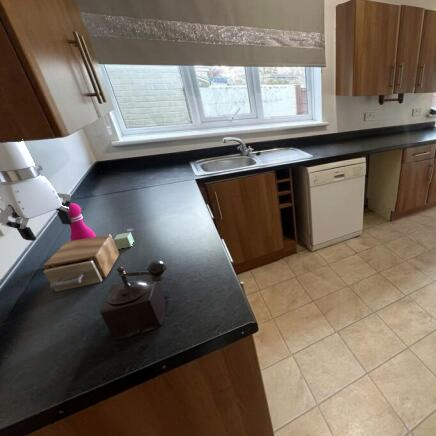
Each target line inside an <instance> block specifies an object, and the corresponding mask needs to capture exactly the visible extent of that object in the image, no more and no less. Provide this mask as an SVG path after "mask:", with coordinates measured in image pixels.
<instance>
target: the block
mask: <svg viewBox="0 0 436 436" xmlns="http://www.w3.org/2000/svg"><path fill="white" fill-rule="evenodd" d="M113 240H114V243H115V245H116V247H117V250H118V249H120V250H122V249H121V248H125V249H127V248H126V247H131V246H132V247H133V245H134V244H133V242H134V243H135V240H134V237H133V235H132V233H131V231H129V232H125V233H119V234H116V236H115V237H114V238H113ZM132 244H133V245H132ZM132 247H131V248H132Z"/></svg>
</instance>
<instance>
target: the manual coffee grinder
mask: <svg viewBox="0 0 436 436" xmlns="http://www.w3.org/2000/svg"><path fill="white" fill-rule="evenodd" d="M124 269H125V268H124V267H123V266H118V267H117V268H116V271H117V273H118V274H117V275H118V277H120V278H121V280H122V282H121V283H117V284H112V285H111V286H110V288H109V290H108V292H107V294H106V296H105V298H104V300H103V302H102V304H101V306H100V309H99V315H100V316H101V318H102V319H103V322H104V323H105V325H106V327H107V329H108V331H109V332H110V333H111V334H110V335H111V336H112V338H113V340H114V341H118V340H122V339H125V338H130V337H134V336H137V335H141V334H143V333H146V332H150V331H153V330H155V329H158V328H159V327H162V325H163V321H164V319H165V315H166V314H165V313H166V307H167V306H166V299H165V297H164V295H163V292H162V289H161V286H160V283H159V282H161V281H163V280H164V278H165V275H164V272H165V271H166V270H167V265H166V263H165V262H164V261H162V260H153V261H151V262H149V264H148V266H147V268H146V271H125V270H124ZM136 276H146V277H143V278H139V279H133V280H130V281H129V280H128V279H127V277H136Z"/></svg>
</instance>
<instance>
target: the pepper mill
mask: <svg viewBox="0 0 436 436" xmlns="http://www.w3.org/2000/svg"><path fill="white" fill-rule="evenodd" d="M68 213H69V215H70V217H71V219H72V220H71V221H72V223H73V224H71V225H69V227H70V241H74V240H80V239H86V238H92V237H97V236H96V233H95V232H94V231H93V229H91V228H90V227H88V226H87V225H86V224H85V222H84V220H83V218H84V216H83V214H82V208H81V206H80V205H79V204H77V203H73V202H71V204H70V206H69V211H68Z"/></svg>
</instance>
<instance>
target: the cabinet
mask: <svg viewBox="0 0 436 436" xmlns="http://www.w3.org/2000/svg"><path fill="white" fill-rule="evenodd" d="M119 256H120V252H119V250H118V249H117V246H116V244H115V242H114V238H113V236H112V234H104V235H97V236H96V237H92V238H86V239H80V240H74V241H71V240H69V241H68V240H67V241H65V243H64V244H62V246H61V247H59V248H58V250H57V251H56V252H55V253H54V254H53V255H52V256H51V257H49V259H48V260H47V261H46V262H45V263H44V264H43V267H44V270H45V269H50V268H52V266H55V265H60V264H65V263H71V262H76V261H81V260H86V259H92V258H94V260H95V262H96V264H97V266H98V268H99V270H100V273H101V275H102V279H103V278H104V279H105V278H107V277H108V275H109V273H110V272H111V269H112V268H113V266H114V264H115V263H116V261H117V259H118V258H119Z"/></svg>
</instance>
